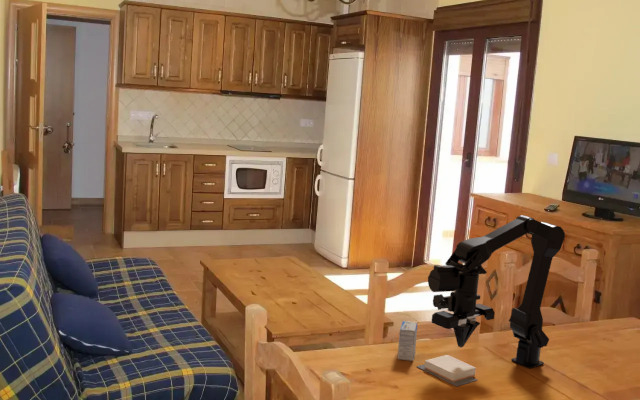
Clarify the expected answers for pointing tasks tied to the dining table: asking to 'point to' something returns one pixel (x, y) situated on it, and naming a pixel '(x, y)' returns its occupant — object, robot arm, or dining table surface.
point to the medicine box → (407, 340)
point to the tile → (450, 368)
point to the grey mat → (456, 383)
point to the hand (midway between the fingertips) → (460, 346)
